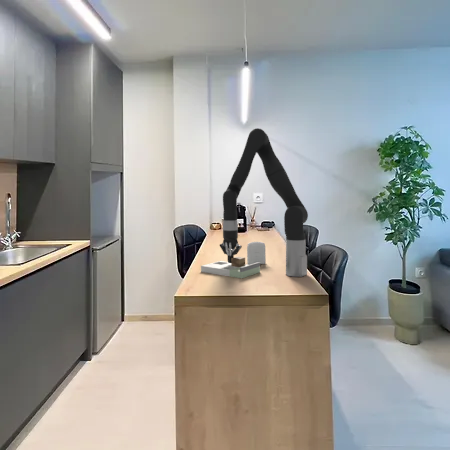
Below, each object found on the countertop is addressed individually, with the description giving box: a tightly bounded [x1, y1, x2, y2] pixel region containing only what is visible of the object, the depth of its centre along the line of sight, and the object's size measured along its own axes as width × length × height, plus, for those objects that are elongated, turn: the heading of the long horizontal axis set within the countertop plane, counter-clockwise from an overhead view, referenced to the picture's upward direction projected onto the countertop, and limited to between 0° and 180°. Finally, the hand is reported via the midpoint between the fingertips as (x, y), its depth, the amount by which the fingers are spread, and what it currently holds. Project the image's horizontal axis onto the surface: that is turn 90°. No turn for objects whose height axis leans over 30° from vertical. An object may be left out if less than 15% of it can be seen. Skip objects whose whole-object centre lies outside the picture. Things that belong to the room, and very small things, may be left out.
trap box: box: [200, 260, 261, 279], centre depth 189 cm, size 25×16×5 cm, turn 53°
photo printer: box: [246, 241, 267, 265], centre depth 209 cm, size 10×4×12 cm, turn 96°
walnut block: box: [231, 256, 246, 267], centre depth 190 cm, size 5×5×4 cm
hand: (230, 262), depth 193 cm, fingers closed
